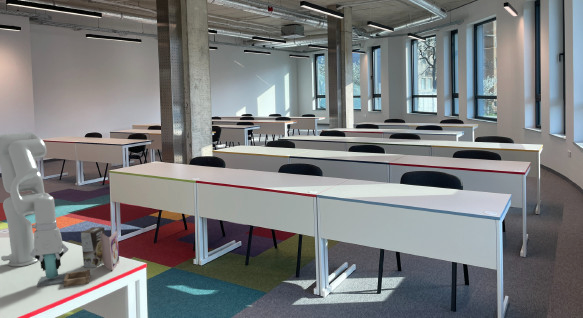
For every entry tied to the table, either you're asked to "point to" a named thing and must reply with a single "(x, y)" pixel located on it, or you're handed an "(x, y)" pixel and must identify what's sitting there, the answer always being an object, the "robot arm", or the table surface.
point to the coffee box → (92, 246)
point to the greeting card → (110, 250)
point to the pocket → (77, 278)
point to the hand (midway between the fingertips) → (51, 268)
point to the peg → (50, 266)
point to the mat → (51, 280)
